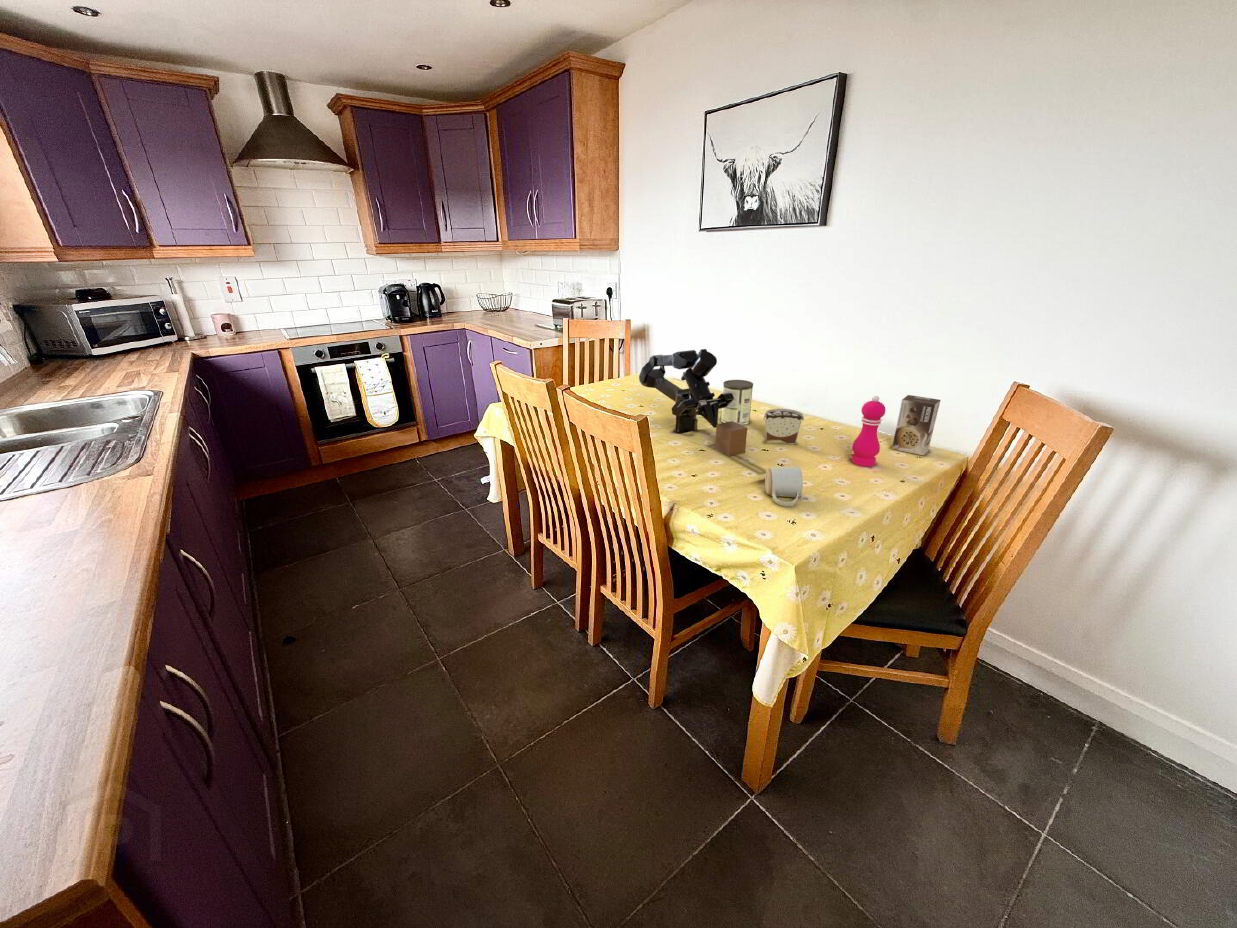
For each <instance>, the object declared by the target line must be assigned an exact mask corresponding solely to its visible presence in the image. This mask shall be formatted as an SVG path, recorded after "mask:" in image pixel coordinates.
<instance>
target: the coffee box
mask: <svg viewBox="0 0 1237 928" xmlns="http://www.w3.org/2000/svg"><path fill="white" fill-rule="evenodd" d="M940 404H941V399H938V398H933V397H925V396H920V395H919V396H918V395H913V394H912V395H911V394H907V395H906V396H905V397H904V398H901V404H900V408H899V413H898V417H897V423H896V426H895V431H894V436H893V441H892V445H891V450H896V451H901V452H905V453H909V454H910V453H911V454H915V455H920V456H925V455H926V454H927V453H928V452H929V449H930V445H931V440H932V437H933V433H934V432H933V431H934V429H935V424H936V421H937V416H938V412H939V409H940Z"/></svg>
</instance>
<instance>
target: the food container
mask: <svg viewBox="0 0 1237 928" xmlns="http://www.w3.org/2000/svg"><path fill="white" fill-rule="evenodd" d="M804 419H805V418H804V414H803V413H802V412H801V411H798V410H794V409H789V408H772V409H768V410H766V412H765V413H764V416H763V420H765V434H764V435H765V440H766V441H780V442H783V443H786V444H788V445H796V444H797V441H798V436H799V433H800V429H801V425H802V421H805V420H804Z"/></svg>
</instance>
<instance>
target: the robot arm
mask: <svg viewBox="0 0 1237 928" xmlns="http://www.w3.org/2000/svg"><path fill="white" fill-rule="evenodd" d="M717 363H718V359H717V357H716V356H715V355H714V354H713V353H712V352H709V351H708V350H707V348H702V349H700V350H699V351H698V353H697V351H696V350H695V349H690V350H689V349H688V350H681V351H676V352H674V353H672V354H655V355H651V356H650V357H649V360H648V361H647V363H646V364H645V365H643V367H642V368H641V369H640V372H639V375H638V380H639V383H640V384H641V386H643V387H646V388H652V389H655V390H657V391H658V392H660V393H661V394H663V395H664V396H665V397H667V398H669V399H670V400H672V401H673V402H674V404H673V406H672V407H671V414H672V415H673V416H675V428H674V430H673V433H676V434H687V433H692V432H697V431H698V418H697V416H701V417H703V419H705V420H706V421H707V422H708V424H709V425H710V426H711V427H712V428H714V429H716V425H717V424H719V410H720V409H721V410H722V408H725V407H727V406H728V405H729V404H730V403H731V402H732V401H733V400H734V396H733V394H732V393H730V392H729V393H723V392H722V393H720V394H719V395H718V396H717V397H716V398H715V396H716V395H715V392H711V390H710V388H709V386H710V385H711V383H710V381H706V379H705V377H707V376H708V375H709V374H710V373H711V371H713V369H714V368H715V366H716V365H717ZM655 367H659V368H655ZM665 367H673V368H674V369H677V370H685V371H683V372H682V375H681V378H680V380H681V381H683V382H684V381H685V382H686V385H687V387H688V388H680V387H679V386H678V385H676V384H675V383H674V382H671V381H670V380H668V379H667V378H665V375H666V368H665Z"/></svg>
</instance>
